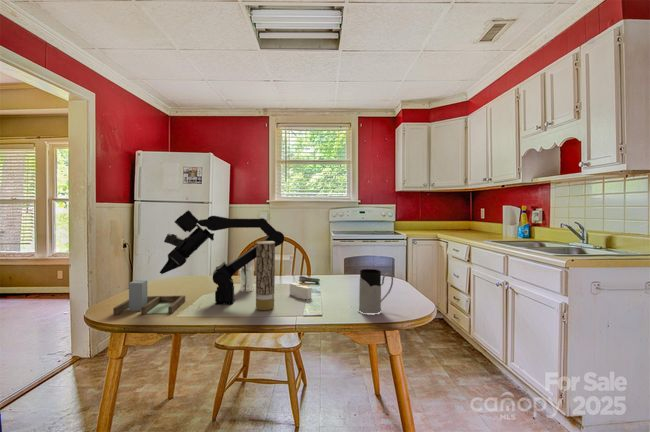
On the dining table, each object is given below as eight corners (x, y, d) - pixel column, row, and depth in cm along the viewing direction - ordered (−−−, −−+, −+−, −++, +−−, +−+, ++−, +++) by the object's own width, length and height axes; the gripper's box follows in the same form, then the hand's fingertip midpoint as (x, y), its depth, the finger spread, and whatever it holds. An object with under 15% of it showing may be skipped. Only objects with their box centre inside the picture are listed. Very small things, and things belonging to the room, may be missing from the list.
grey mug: (353, 309, 123) (354, 269, 122) (385, 305, 128) (386, 267, 128) (365, 316, 115) (366, 274, 114) (399, 312, 120) (399, 271, 120)
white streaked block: (250, 292, 145) (250, 258, 145) (236, 291, 147) (236, 258, 146) (256, 288, 152) (257, 256, 152) (242, 288, 153) (243, 256, 153)
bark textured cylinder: (258, 312, 118) (259, 242, 118) (253, 307, 124) (254, 241, 124) (276, 309, 121) (277, 242, 121) (270, 304, 127) (271, 240, 127)
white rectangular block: (317, 301, 134) (317, 287, 134) (289, 303, 132) (289, 289, 131) (310, 292, 149) (310, 280, 149) (285, 293, 146) (285, 281, 146)
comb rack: (185, 301, 130) (185, 295, 130) (172, 313, 115) (172, 306, 115) (133, 302, 128) (133, 296, 128) (113, 315, 113) (113, 308, 113)
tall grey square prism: (147, 306, 123) (147, 280, 122) (142, 310, 118) (142, 283, 118) (134, 307, 122) (134, 280, 122) (128, 310, 118) (128, 283, 117)
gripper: (181, 224, 133) (150, 252, 129) (175, 227, 115) (139, 260, 112) (201, 243, 135) (172, 271, 132) (199, 249, 117) (165, 281, 114)
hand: (162, 270), depth 122 cm, fingers open, 9 cm apart
